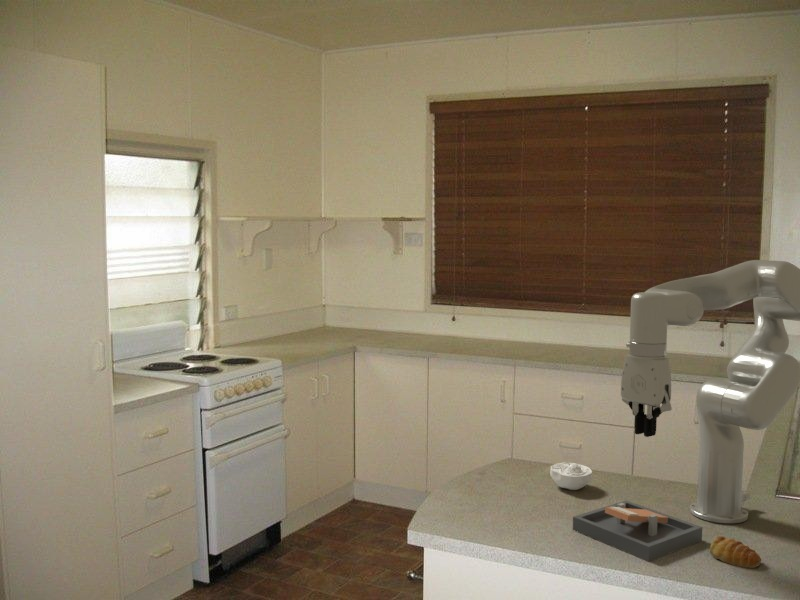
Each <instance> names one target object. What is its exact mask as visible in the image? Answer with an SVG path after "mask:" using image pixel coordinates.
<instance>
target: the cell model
mask: <svg viewBox="0 0 800 600" xmlns="http://www.w3.org/2000/svg"><path fill="white" fill-rule="evenodd" d="M549 474H550V475H549V476H550V477H551V478H552V480H553V481H554V483H555V484H556V485H557V486H558V487H560V488H562V489H566V490H570V491H577V490H580V489H582V488H584V487H585V486H586V485H588V483H590V481H591V479H592V474H593V470H592V469H591V468H590V467H589V466H586V465H584V464H579V463H574V462H568V461H563V462H557V463H555V464H552V465H550V472H549Z"/></svg>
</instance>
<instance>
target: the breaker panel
mask: <svg viewBox="0 0 800 600" xmlns="http://www.w3.org/2000/svg"><path fill="white" fill-rule="evenodd" d="M606 507H620V508H629V509H646V510H648V511H651V512H654V513H657V514H660V515H663V516H665V517H668V522H667V523H657V520H658V515H655V514H652V515H649V522H632V521H625V520H623V519H620V518H617V517H615V516H612V515H609V514H607V513H605V508H606ZM572 530H573V531H574V530H575V531H574V532H577V531H578V532H577V533H579V532H580V534H581V533H582V535H584V536H587V537H589V538H591V539H594V540H596V541H598V542H601V543H603V544H605V545H608V546H611V547H612V548H615V549H618V550H620V551H623V552H625V553H628V554H630V555H632V556H634V557H637V558H639V559H642V560H644V561H647V562H650V561H653V560H656V559H658V558H661V557H664V556H665V555H668V554H671V553H674V552H677V551H680V550H682V549H683V548H687V547H689V546H693V545H695V544H698V543H701V542H702V541H703V527H702V526H701V525H697V524H695V523H692V522H688V521H685V520H683V519H681V518H677V517H675V516H671V515H669V514H665V513H664V512H663V513H662V512H660V511H658V510H654V509H652V508H649V507H647V506H643V505H641V504H638V503H635V502H632V501H630V500H623V501H620V502H616V503H614V504H610V505H607V506H604V507H601V508H597V509H594V510H590V511H587V512H583V513H580V514H577V515H574V516H572Z"/></svg>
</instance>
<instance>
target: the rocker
mask: <svg viewBox="0 0 800 600" xmlns="http://www.w3.org/2000/svg"><path fill="white" fill-rule="evenodd" d="M605 507H606V506H605ZM605 513H607V514H609V515H612V516H615V517H617V518H620V519H623V520H625V521H632V522H649V515H652V514H655V515H658V520H657V523H667V522H668V517H665V516H663V515H660V514H657V513H654V512H651V511H648V510H646V509H629V508H620V507H606V508H605Z"/></svg>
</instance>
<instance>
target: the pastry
mask: <svg viewBox="0 0 800 600" xmlns="http://www.w3.org/2000/svg"><path fill="white" fill-rule="evenodd" d="M708 552H709V553H710V554H711V556H712V557H713V558H714V559H716V560H717V559H718V560H719V561H721V562H722V563H726V564H731V565H733V566H735V567H741V568H745V569H746V568H750V569H754V568H756V567H758V566H760V564H761V562H762V557H760V555H759V554H758V553H757V552H756V551H755V550H753V549H752V548H750V546H748V545H744V544H743V541H740V540H739V541H738V540H735V539H734V538H726V537H725V536H722V535H719V536H716V537H715V538H714V540H712V542H711V544H710V547H709V551H708Z"/></svg>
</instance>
